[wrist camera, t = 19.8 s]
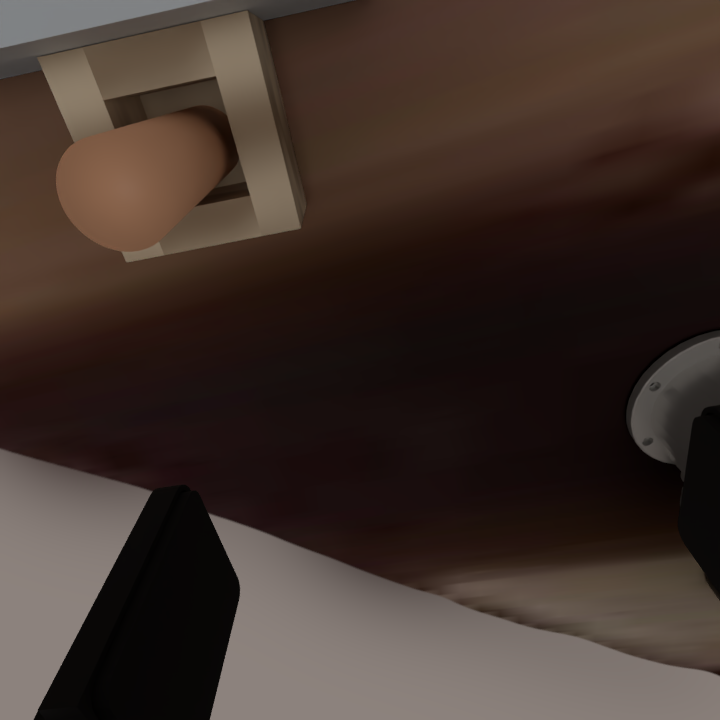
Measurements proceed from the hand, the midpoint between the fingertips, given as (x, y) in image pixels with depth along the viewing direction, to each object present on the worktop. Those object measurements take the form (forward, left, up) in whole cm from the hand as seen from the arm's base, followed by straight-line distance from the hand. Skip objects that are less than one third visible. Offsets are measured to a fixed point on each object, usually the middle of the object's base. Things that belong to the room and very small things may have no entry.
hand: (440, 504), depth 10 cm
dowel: (+5, +9, -26) cm, 28 cm away
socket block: (+6, +9, -27) cm, 29 cm away
